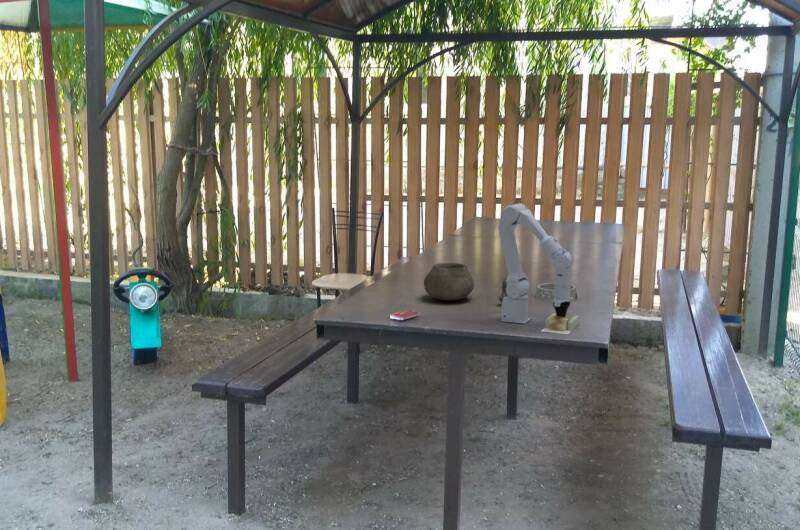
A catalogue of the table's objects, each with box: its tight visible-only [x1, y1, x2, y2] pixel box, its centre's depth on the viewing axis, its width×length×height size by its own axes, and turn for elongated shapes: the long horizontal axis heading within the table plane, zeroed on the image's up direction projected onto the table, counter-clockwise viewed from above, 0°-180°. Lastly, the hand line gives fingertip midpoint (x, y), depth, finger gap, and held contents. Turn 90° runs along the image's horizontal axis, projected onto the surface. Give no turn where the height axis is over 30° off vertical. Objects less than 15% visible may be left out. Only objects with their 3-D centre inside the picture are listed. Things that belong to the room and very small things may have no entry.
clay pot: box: [423, 262, 475, 302], centre depth 327 cm, size 22×21×15 cm
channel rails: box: [544, 312, 580, 332], centre depth 285 cm, size 10×11×3 cm
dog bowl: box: [535, 282, 578, 303], centre depth 331 cm, size 17×18×5 cm
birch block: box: [549, 316, 570, 331], centre depth 281 cm, size 6×4×4 cm
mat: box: [540, 327, 572, 335], centre depth 278 cm, size 10×5×1 cm, turn 64°
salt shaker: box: [498, 276, 509, 307], centre depth 317 cm, size 6×6×12 cm
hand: (561, 321), depth 284 cm, fingers closed
